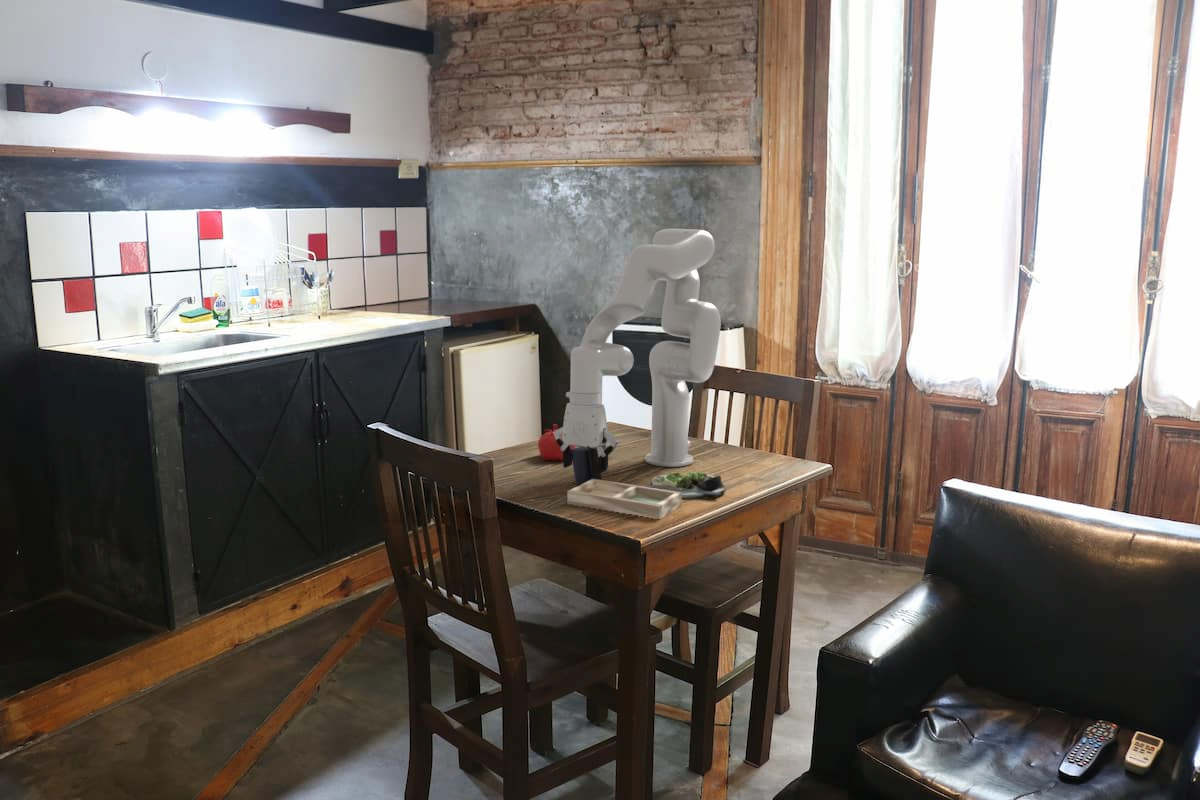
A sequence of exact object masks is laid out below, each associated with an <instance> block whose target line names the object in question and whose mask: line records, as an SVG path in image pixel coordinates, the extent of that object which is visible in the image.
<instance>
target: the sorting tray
mask: <svg viewBox="0 0 1200 800" xmlns="http://www.w3.org/2000/svg"><path fill="white" fill-rule="evenodd" d="M566 493H567V494H566V495H567V496H566V497H567V500H566V501H567V502H566V504H567V505H570V504H573V505H572V506H576V505H579V506H578V507H582V506H585V507H584V508H587V507H590V509H593V508H595V509H594V510H599V509H602V510H601V511H605V510H608V511H607V512H611V511H614V512H613V513H616V512H619V513H618V514H622V513H626V514H625V515H628V514H633V515H632V516H634V515H638V516H637V517H640V516H644V517H643V518H646V517H649V518H648V519H651V518H653V520H657V519H660V520H661V519H663V518H664V517H666V516H668V515H669V514H670V512H671V513H672V512H674V511H675V510H676V508H677V509H678V508H680V507H681V506H683V505H682V503H683V502H682V501H683V498H682V492H675V491H669V490H662V489H656V488H650V487H643V485H642V486H641V485H637V484H636V485H635V484H630V483H624V482H623V483H622V482H618V481H617V482H616V481H611V480H604V479H602V480H598V479H591V480H589V481H587V482H585V483H583V484H579V485H577V486H575V487H573V488H571V489H569V490H567V492H566ZM679 506H680V507H679ZM667 514H668V515H667Z"/></svg>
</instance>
